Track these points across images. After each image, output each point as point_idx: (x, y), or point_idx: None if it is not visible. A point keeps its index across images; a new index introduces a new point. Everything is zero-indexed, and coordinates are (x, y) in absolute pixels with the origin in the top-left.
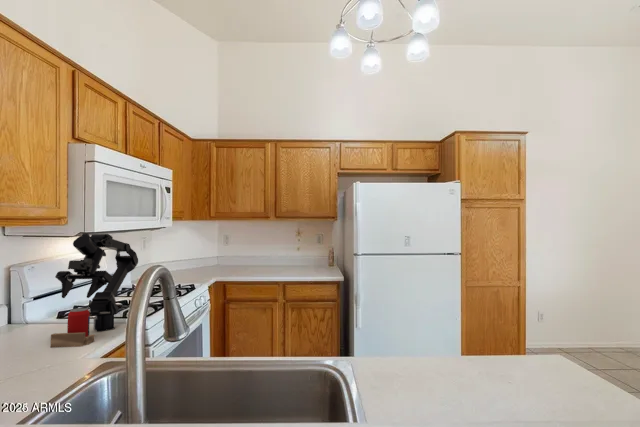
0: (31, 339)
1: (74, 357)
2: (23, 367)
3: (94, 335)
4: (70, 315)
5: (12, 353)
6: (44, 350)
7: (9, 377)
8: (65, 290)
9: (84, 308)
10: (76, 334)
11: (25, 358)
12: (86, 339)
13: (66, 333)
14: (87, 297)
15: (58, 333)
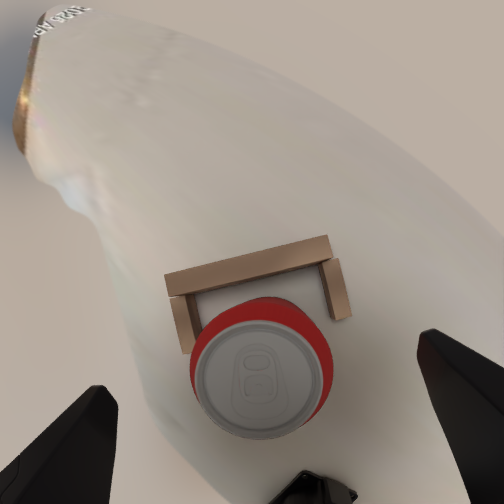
0: (497, 325)
1: (114, 166)
2: (202, 74)
3: (184, 353)
4: (267, 304)
5: (398, 164)
6: (307, 208)
7: (174, 36)
8: (472, 408)
9: (259, 432)
10: (195, 267)
11: (284, 125)
12: (175, 297)
13: (257, 265)
14: (103, 390)
15: (307, 260)
